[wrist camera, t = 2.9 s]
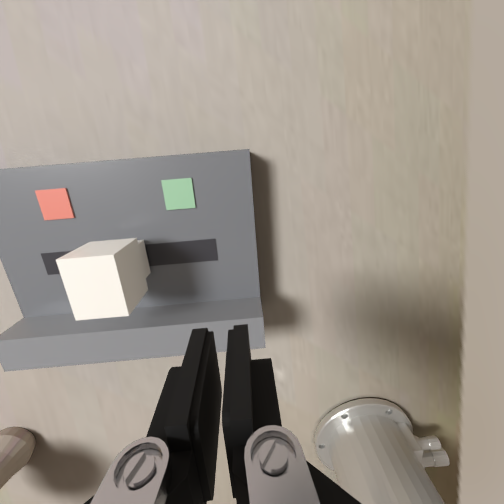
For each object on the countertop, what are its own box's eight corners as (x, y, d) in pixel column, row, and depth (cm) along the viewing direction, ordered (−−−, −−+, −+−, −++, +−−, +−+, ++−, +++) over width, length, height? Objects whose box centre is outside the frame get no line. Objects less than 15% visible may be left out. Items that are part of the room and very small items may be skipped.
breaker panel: (248, 150, 24) (250, 146, 18) (260, 308, 29) (265, 347, 23) (-2, 170, 24) (-87, 173, 17) (55, 326, 29) (4, 371, 23)
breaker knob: (145, 231, 23) (113, 254, 17) (155, 279, 24) (129, 315, 18) (102, 235, 22) (55, 259, 17) (114, 282, 24) (75, 320, 18)
